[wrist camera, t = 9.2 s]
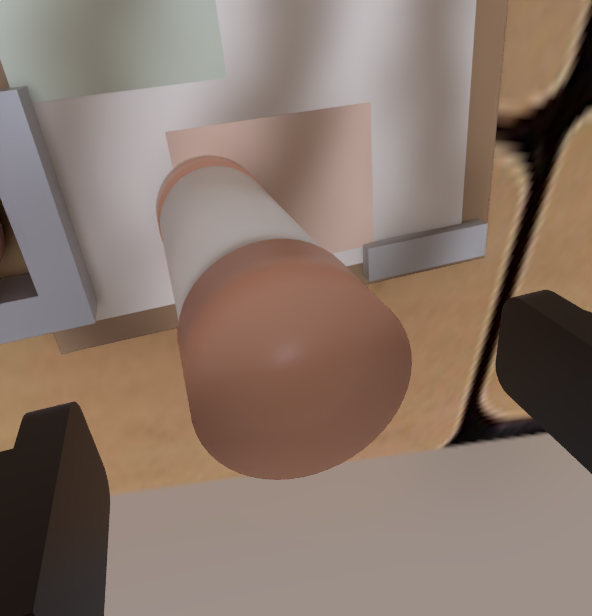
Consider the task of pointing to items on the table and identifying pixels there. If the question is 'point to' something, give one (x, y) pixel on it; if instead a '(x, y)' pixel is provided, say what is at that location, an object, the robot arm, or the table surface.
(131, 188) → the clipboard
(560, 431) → the robot arm
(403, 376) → the marker
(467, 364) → the table surface
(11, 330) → the button housing
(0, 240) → the button
